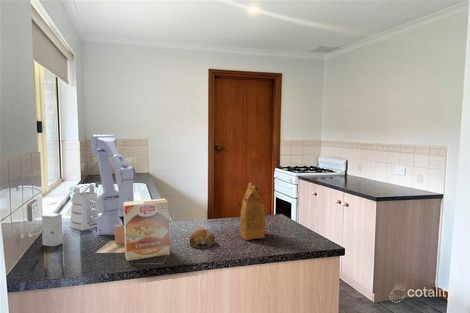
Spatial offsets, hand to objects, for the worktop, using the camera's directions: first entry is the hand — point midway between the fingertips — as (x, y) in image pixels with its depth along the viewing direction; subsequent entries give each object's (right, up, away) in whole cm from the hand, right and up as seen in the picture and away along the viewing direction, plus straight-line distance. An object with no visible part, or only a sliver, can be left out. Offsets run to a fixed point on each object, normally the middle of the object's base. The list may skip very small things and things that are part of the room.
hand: (127, 229), depth 133 cm
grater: (-27, -4, +23) cm, 36 cm away
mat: (0, -5, -7) cm, 9 cm away
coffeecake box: (+12, -6, -16) cm, 21 cm away
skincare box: (-29, -6, -2) cm, 30 cm away
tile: (0, -5, -4) cm, 6 cm away
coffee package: (+51, -4, +4) cm, 51 cm away
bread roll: (+31, -5, -5) cm, 32 cm away
